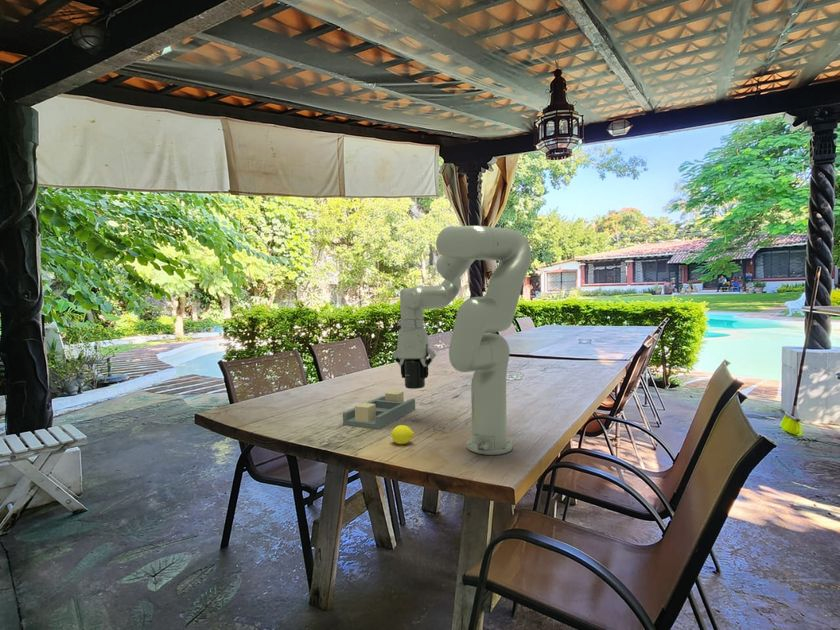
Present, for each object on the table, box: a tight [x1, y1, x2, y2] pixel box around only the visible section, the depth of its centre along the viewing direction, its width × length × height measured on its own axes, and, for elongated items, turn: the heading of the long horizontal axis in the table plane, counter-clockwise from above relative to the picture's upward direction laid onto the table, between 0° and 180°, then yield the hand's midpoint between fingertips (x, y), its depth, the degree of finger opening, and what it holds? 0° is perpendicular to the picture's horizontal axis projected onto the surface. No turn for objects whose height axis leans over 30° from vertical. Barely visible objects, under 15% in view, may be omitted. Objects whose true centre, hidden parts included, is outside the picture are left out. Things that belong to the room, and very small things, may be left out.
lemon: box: [390, 424, 415, 445], centre depth 128 cm, size 7×5×5 cm
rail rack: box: [342, 390, 416, 430], centre depth 156 cm, size 26×14×6 cm, turn 155°
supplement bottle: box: [404, 359, 426, 390], centre depth 150 cm, size 7×7×12 cm
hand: (414, 377), depth 150 cm, fingers closed on supplement bottle, 6 cm apart
